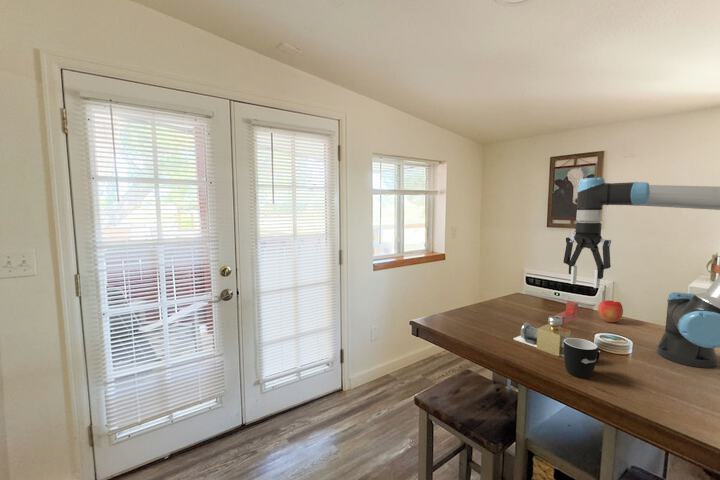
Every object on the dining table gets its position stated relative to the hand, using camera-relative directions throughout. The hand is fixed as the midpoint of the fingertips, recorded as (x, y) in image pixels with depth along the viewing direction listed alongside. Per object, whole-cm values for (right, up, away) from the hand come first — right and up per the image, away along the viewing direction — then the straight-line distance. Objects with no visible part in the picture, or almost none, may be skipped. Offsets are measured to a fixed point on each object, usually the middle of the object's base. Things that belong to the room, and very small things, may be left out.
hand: (584, 285), depth 120 cm
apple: (+34, -22, +33) cm, 52 cm away
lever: (-4, -15, +7) cm, 17 cm away
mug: (-10, -27, -13) cm, 31 cm away
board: (-6, -24, +8) cm, 26 cm away
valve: (-9, -25, +4) cm, 27 cm away
